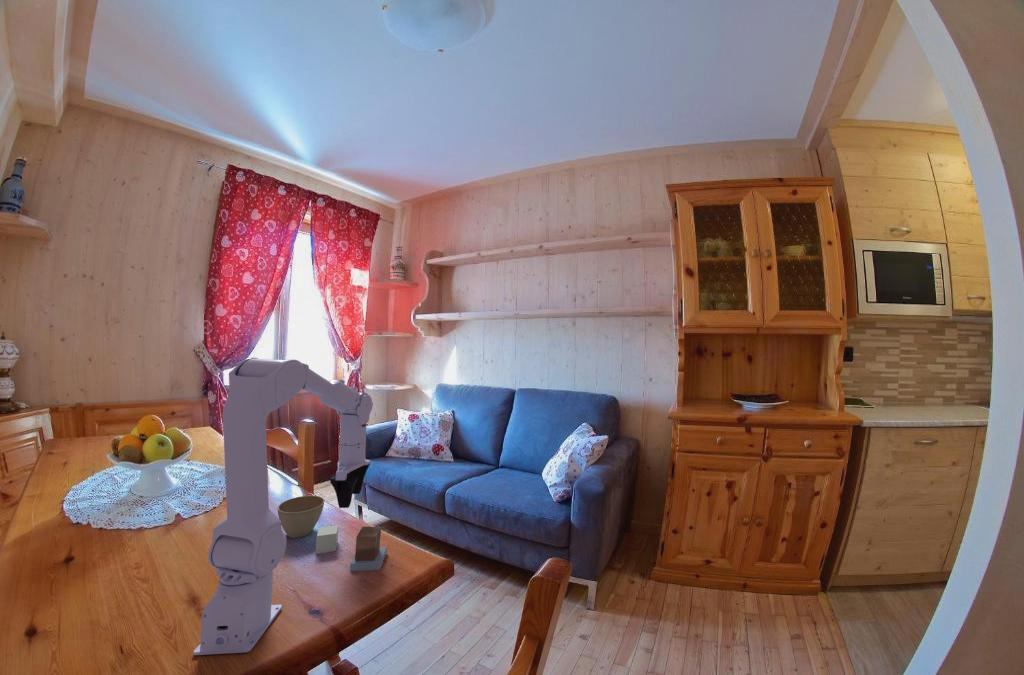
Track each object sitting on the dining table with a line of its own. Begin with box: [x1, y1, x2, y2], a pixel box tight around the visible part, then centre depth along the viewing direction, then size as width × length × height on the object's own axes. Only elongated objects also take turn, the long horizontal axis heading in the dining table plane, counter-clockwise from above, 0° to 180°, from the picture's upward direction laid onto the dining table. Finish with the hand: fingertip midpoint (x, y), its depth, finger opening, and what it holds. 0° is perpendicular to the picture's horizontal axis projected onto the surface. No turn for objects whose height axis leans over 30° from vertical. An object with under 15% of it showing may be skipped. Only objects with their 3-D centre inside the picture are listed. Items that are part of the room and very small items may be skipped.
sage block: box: [315, 524, 339, 555], centre depth 82 cm, size 4×4×4 cm
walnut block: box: [354, 526, 382, 560], centre depth 77 cm, size 4×4×5 cm
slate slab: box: [349, 546, 388, 572], centre depth 77 cm, size 6×6×2 cm
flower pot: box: [277, 495, 325, 539], centre depth 88 cm, size 10×10×7 cm
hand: (350, 500), depth 84 cm, fingers open, 7 cm apart
